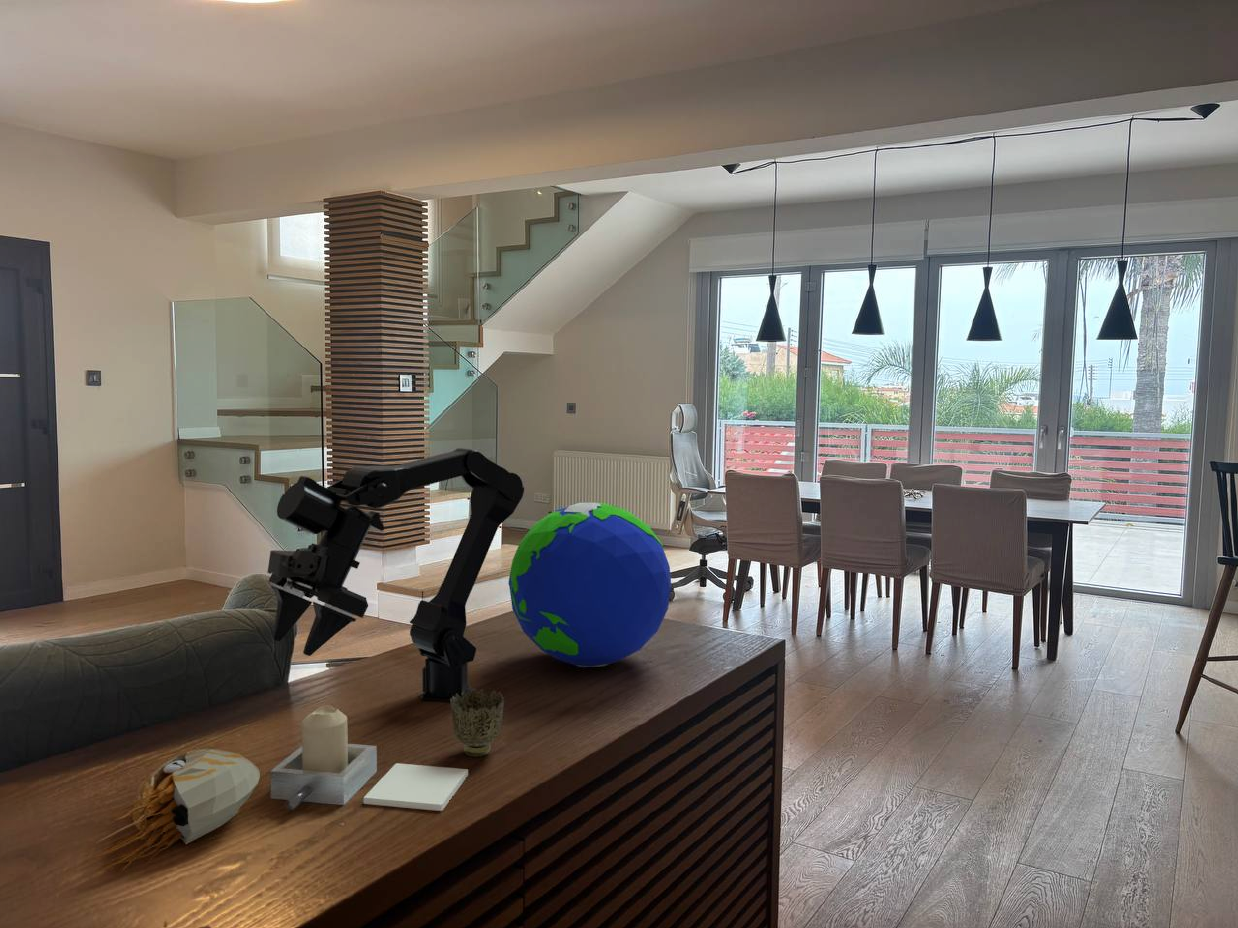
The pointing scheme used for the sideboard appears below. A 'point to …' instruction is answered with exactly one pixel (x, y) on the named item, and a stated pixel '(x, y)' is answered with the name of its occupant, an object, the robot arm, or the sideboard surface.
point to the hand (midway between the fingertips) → (290, 647)
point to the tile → (416, 787)
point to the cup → (477, 720)
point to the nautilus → (188, 798)
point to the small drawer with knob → (322, 778)
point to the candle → (325, 740)
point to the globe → (590, 584)
